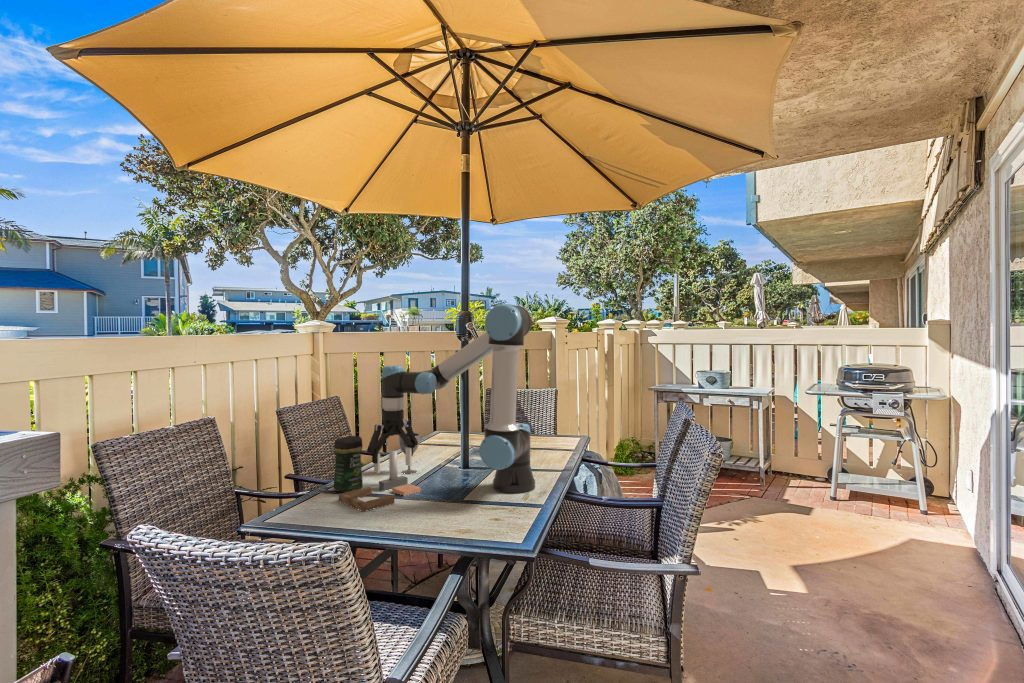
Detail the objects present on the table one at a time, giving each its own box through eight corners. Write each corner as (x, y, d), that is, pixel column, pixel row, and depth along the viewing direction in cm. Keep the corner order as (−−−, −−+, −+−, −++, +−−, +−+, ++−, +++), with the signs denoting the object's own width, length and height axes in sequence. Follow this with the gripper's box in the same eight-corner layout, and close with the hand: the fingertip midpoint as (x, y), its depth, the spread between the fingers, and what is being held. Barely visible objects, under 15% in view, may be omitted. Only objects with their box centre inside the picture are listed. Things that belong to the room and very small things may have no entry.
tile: (420, 493, 190) (420, 487, 190) (403, 497, 185) (403, 492, 185) (409, 489, 195) (409, 483, 195) (392, 493, 190) (392, 487, 190)
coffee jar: (344, 494, 188) (344, 440, 187) (330, 490, 192) (329, 437, 192) (366, 487, 196) (366, 435, 195) (352, 483, 200) (351, 433, 200)
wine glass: (395, 474, 213) (395, 436, 213) (404, 469, 221) (403, 432, 220) (414, 475, 211) (414, 437, 211) (422, 470, 219) (422, 433, 219)
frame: (394, 503, 178) (394, 495, 177) (362, 511, 169) (362, 503, 169) (369, 493, 188) (369, 486, 188) (338, 501, 180) (338, 493, 180)
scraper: (402, 483, 200) (402, 448, 200) (407, 485, 198) (407, 449, 198) (379, 489, 193) (378, 453, 193) (383, 491, 191) (383, 454, 191)
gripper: (415, 404, 206) (415, 460, 207) (356, 411, 189) (356, 473, 189) (427, 406, 201) (427, 464, 202) (368, 414, 183) (368, 477, 184)
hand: (393, 468), depth 195 cm, fingers open, 12 cm apart
